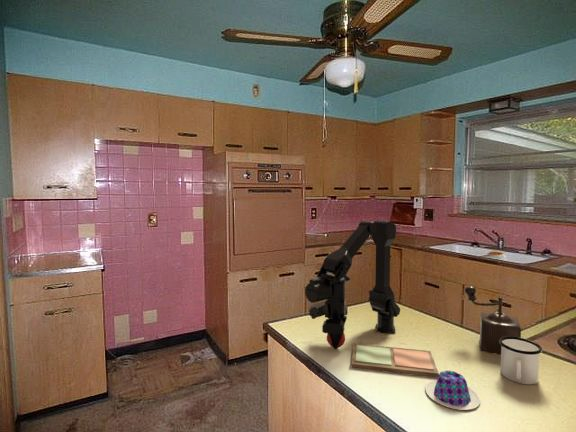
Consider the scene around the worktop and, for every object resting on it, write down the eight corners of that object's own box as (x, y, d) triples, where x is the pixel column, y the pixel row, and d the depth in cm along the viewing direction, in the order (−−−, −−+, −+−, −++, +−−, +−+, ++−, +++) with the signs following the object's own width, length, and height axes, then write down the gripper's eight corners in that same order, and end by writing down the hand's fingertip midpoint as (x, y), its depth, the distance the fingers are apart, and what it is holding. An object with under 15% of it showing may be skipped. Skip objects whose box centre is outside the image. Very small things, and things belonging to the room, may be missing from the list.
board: (353, 347, 106) (353, 342, 106) (430, 354, 101) (430, 350, 101) (351, 367, 94) (351, 362, 94) (438, 377, 88) (438, 372, 88)
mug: (499, 363, 95) (500, 333, 95) (540, 373, 90) (541, 341, 89) (495, 383, 86) (496, 349, 85) (541, 396, 80) (543, 360, 79)
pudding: (461, 381, 87) (462, 362, 87) (491, 411, 75) (492, 389, 75) (417, 383, 87) (417, 364, 86) (440, 414, 75) (440, 391, 74)
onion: (344, 354, 102) (344, 328, 101) (326, 352, 103) (326, 327, 103) (345, 345, 108) (345, 321, 107) (327, 344, 109) (327, 320, 108)
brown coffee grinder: (516, 343, 107) (518, 289, 106) (521, 359, 98) (523, 299, 96) (462, 334, 115) (463, 283, 114) (462, 347, 105) (463, 292, 104)
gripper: (315, 286, 115) (315, 329, 116) (305, 304, 97) (305, 355, 98) (347, 288, 112) (347, 332, 114) (343, 306, 94) (343, 359, 96)
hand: (336, 343), depth 105 cm, fingers closed on onion, 6 cm apart
